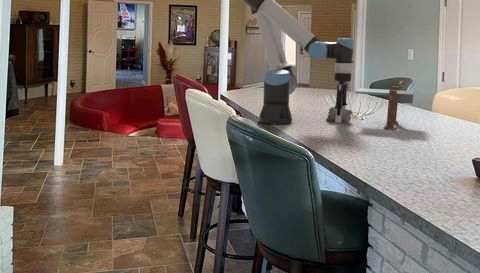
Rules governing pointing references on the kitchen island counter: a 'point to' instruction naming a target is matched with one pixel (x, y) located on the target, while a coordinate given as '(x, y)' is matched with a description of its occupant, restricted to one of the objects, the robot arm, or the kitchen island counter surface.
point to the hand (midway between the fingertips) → (340, 120)
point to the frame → (392, 110)
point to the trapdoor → (401, 95)
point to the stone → (345, 115)
